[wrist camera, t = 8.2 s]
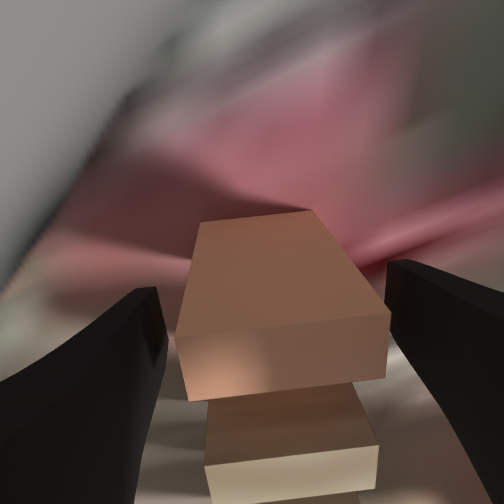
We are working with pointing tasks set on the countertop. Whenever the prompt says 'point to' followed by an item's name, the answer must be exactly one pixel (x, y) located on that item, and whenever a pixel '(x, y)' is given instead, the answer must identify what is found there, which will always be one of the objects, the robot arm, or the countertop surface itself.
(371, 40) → the countertop surface
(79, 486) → the robot arm
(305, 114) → the countertop surface
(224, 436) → the domino
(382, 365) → the domino
